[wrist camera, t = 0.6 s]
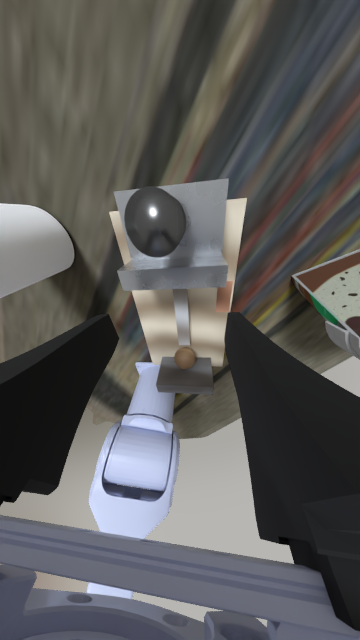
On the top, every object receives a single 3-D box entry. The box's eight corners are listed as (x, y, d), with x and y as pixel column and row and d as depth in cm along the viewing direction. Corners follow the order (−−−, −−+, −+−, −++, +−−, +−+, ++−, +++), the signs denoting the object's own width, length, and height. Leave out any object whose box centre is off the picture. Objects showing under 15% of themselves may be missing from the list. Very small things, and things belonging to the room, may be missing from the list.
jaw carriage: (218, 269, 14) (234, 308, 8) (139, 273, 15) (104, 310, 9) (225, 181, 11) (261, 144, 5) (120, 193, 12) (44, 174, 6)
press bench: (221, 359, 26) (227, 396, 21) (155, 358, 27) (145, 392, 22) (242, 199, 13) (272, 190, 8) (116, 212, 15) (72, 211, 9)
